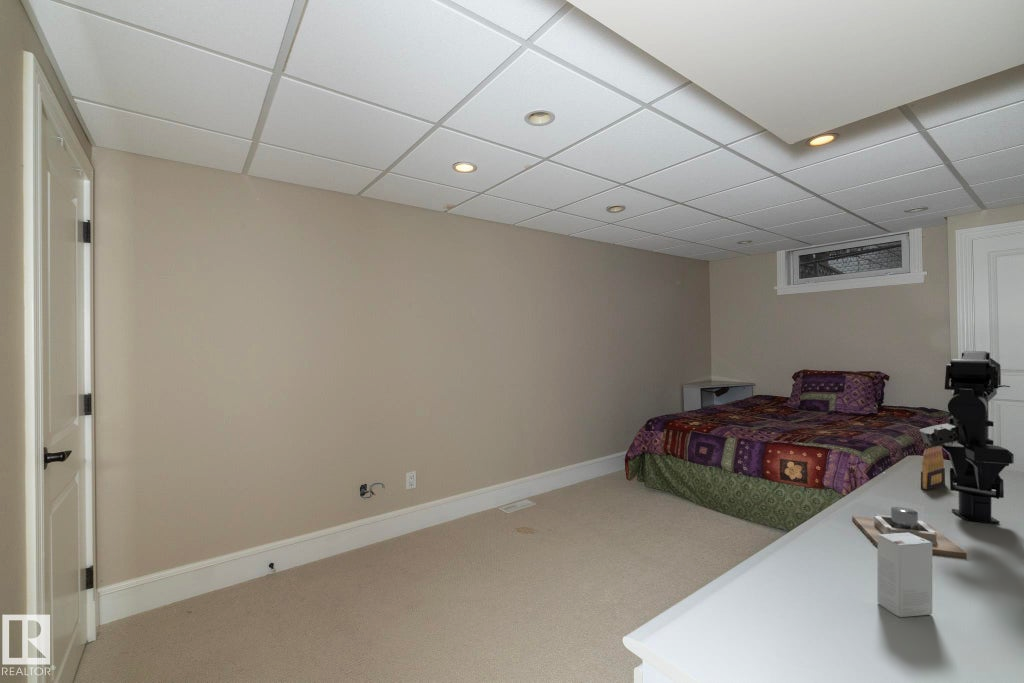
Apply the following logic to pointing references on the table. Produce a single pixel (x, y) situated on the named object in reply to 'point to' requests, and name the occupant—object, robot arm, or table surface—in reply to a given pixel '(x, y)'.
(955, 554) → the wooden board with frame
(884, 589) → the skincare box
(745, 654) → the table surface
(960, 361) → the robot arm
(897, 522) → the cylinder
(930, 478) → the ammunition clip
